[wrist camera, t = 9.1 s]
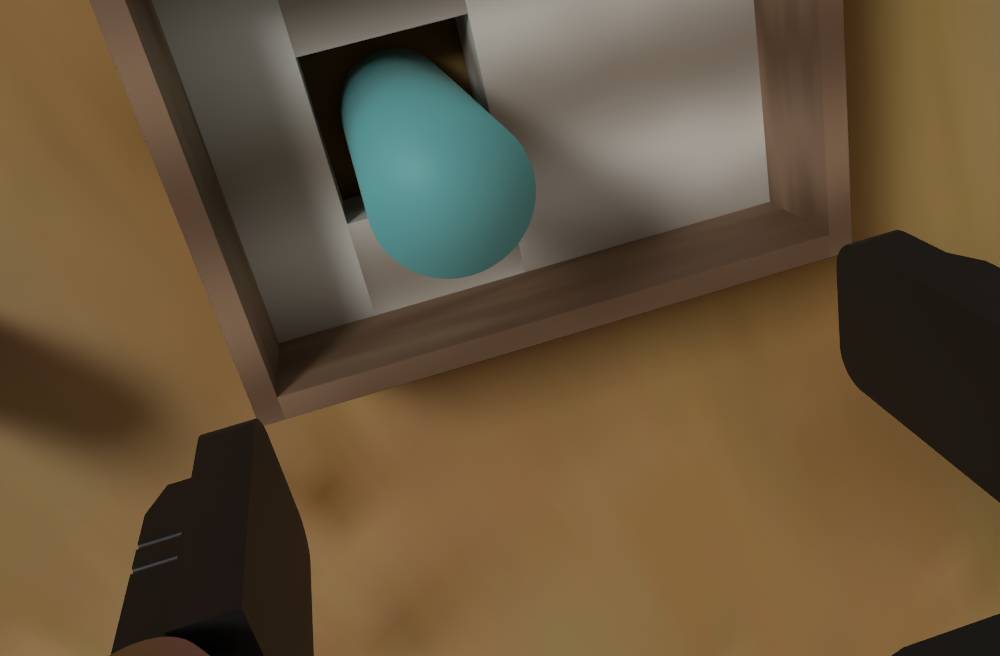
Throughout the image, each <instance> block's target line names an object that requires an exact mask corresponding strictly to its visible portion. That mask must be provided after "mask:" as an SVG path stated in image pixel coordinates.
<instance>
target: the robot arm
mask: <svg viewBox="0 0 1000 656" xmlns="http://www.w3.org/2000/svg"><path fill="white" fill-rule="evenodd" d="M837 289H838V311H839V334H840V350H841V355H842V359H843V362H844V365H845V368H846V370H847V372H848V374H849V376H850V378H851V379H852V381H853V382H854V383H855V385H856V386H857V387H858V388H859V389H860V390H861V391H862V392H864V393H865V394H866V395H867V396H869V397H870V398H871V399H872V400H874V401H875V402H876V403H877V404H878V405H880V406H881V407H882V408H883V409H885V410H886V411H887V412H888V413H890V414H891V415H892V416H893V417H895V418H896V419H897V420H898V421H899V422H901V423H902V424H903V425H904V426H906V427H907V428H908V429H909V430H911V431H912V432H913V433H914V434H916V435H917V436H918V437H919V438H921V439H922V440H923V441H924V442H925V443H927V444H928V445H929V446H930V447H932V448H933V449H934V450H935V451H937V452H938V453H939V454H940V455H942V456H943V457H944V458H945V459H946V460H948V461H949V462H950V463H951V464H953V465H954V466H955V467H956V468H958V469H959V470H960V471H961V472H963V473H964V474H965V475H966V476H968V477H969V478H970V479H971V480H972V481H974V482H975V483H976V484H977V485H979V486H980V487H981V488H982V489H984V490H985V491H986V492H987V493H989V494H990V495H991V496H992V497H994V498H995V499H996V500H997V501H998V502H1000V268H999V267H997V266H995V265H993V264H991V263H989V262H987V261H983V260H979V259H974V258H969V257H965V256H960V255H955V254H951V253H946V252H944V251H942V250H940V249H938V248H936V247H934V246H932V245H930V244H928V243H926V242H924V241H922V240H920V239H918V238H916V237H914V236H912V235H910V234H908V233H906V232H903V231H901V230H895V231H891V232H888V233H884V234H881V235H878V236H874V237H871V238H867V239H864V240H861V241H857V242H854V243H851V244H847V245H845V246H843V247H842V248H841V249H840V251H839V254H838V257H837ZM138 546H139V549H138V550H136V553H135V557H134V562H133V566H132V570H133V574H131V575H130V578H129V582H128V586H127V590H126V594H125V599H124V603H123V607H122V611H121V615H120V619H119V623H118V627H117V631H116V636H115V640H114V644H113V648H112V652H111V655H110V656H314V652H313V624H312V596H311V567H310V554H309V548H308V543H307V538H306V534H305V530H304V527H303V523H302V520H301V517H300V514H299V512H298V509H297V507H296V504H295V502H294V499H293V497H292V494H291V492H290V489H289V487H288V484H287V482H286V479H285V477H284V474H283V472H282V469H281V467H280V464H279V462H278V459H277V457H276V454H275V452H274V449H273V447H272V444H271V442H270V439H269V437H268V434H267V432H266V430H265V428H264V426H263V424H262V423H261V421H260V420H259V419H257V418H256V419H253V420H250V421H246V422H243V423H240V424H236V425H233V426H230V427H226V428H223V429H219V430H216V431H213V432H209V433H206V434H203V435H200V436H199V438H198V443H197V448H196V454H195V460H194V465H193V471H192V477H191V478H189V479H186V480H183V481H179V482H176V483H173V484H169V485H167V486H166V488H165V489H164V490H163V492H162V493H161V494H160V496H159V497H158V498H157V500H156V501H155V502H154V504H153V505H152V506H151V508H150V509H149V510H148V511H147V513H146V514H145V516H144V520H143V525H142V529H141V533H140V537H139V541H138ZM892 656H1000V614H998V615H995V616H992V617H989V618H986V619H983V620H980V621H978V622H975V623H972V624H969V625H966V626H963V627H960V628H958V629H955V630H952V631H949V632H946V633H943V634H940V635H938V636H935V637H932V638H929V639H926V640H923V641H920V642H918V643H915V644H912V645H909V646H906V647H903V648H902V649H901V650H899V651H898V652H896V653H895V654H893V655H892Z"/></svg>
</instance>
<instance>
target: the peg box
mask: <svg viewBox="0 0 1000 656" xmlns="http://www.w3.org/2000/svg"><path fill="white" fill-rule="evenodd" d="M89 1H90V3H91V6H92V8H93V11H94V13H95V16H96V18H97V21H98V23H99V26H100V28H101V31H102V33H103V36H104V38H105V41H106V43H107V46H108V48H109V51H110V53H111V56H112V58H113V61H114V63H115V66H116V68H117V71H118V73H119V76H120V78H121V81H122V83H123V86H124V88H125V91H126V93H127V96H128V98H129V101H130V103H131V106H132V108H133V111H134V113H135V116H136V118H137V121H138V123H139V126H140V128H141V130H142V133H143V135H144V138H145V140H146V143H147V145H148V148H149V150H150V153H151V155H152V158H153V160H154V163H155V165H156V168H157V170H158V173H159V175H160V178H161V180H162V183H163V185H164V188H165V190H166V193H167V195H168V198H169V200H170V203H171V205H172V208H173V210H174V213H175V215H176V218H177V220H178V223H179V225H180V228H181V230H182V233H183V235H184V238H185V240H186V243H187V245H188V248H189V250H190V253H191V255H192V258H193V260H194V263H195V265H196V268H197V270H198V273H199V275H200V278H201V280H202V283H203V285H204V288H205V290H206V293H207V295H208V298H209V300H210V303H211V305H212V308H213V310H214V313H215V315H216V318H217V320H218V323H219V325H220V328H221V330H222V333H223V335H224V338H225V340H226V343H227V345H228V348H229V350H230V353H231V355H232V358H233V360H234V363H235V365H236V368H237V370H238V373H239V375H240V378H241V380H242V383H243V385H244V388H245V390H246V393H247V395H248V398H249V400H250V403H251V405H252V408H253V410H254V413H255V415H256V418H257V419H259V420H260V421H261V423H262V424H263V426H265V425H268V424H271V423H275V422H278V421H281V420H285V419H288V418H291V417H295V416H298V415H301V414H305V413H308V412H312V411H315V410H318V409H322V408H325V407H328V406H332V405H335V404H338V403H342V402H345V401H349V400H352V399H355V398H359V397H362V396H365V395H369V394H372V393H375V392H379V391H382V390H386V389H389V388H392V387H396V386H399V385H402V384H406V383H409V382H412V381H416V380H419V379H423V378H426V377H429V376H433V375H436V374H439V373H443V372H446V371H449V370H453V369H456V368H460V367H463V366H466V365H470V364H473V363H476V362H480V361H483V360H486V359H490V358H493V357H496V356H500V355H503V354H507V353H510V352H513V351H517V350H520V349H523V348H527V347H530V346H533V345H537V344H540V343H544V342H547V341H550V340H554V339H557V338H560V337H564V336H567V335H570V334H574V333H577V332H581V331H584V330H587V329H591V328H594V327H597V326H601V325H604V324H607V323H611V322H614V321H618V320H621V319H624V318H628V317H631V316H634V315H638V314H641V313H644V312H648V311H651V310H654V309H658V308H661V307H665V306H668V305H671V304H675V303H678V302H681V301H685V300H688V299H691V298H695V297H698V296H702V295H705V294H708V293H712V292H715V291H718V290H722V289H725V288H728V287H732V286H735V285H739V284H742V283H745V282H749V281H752V280H755V279H759V278H762V277H765V276H769V275H772V274H776V273H779V272H782V271H786V270H789V269H792V268H796V267H799V266H802V265H806V264H809V263H813V262H816V261H819V260H823V259H826V258H829V257H833V256H836V255H838V254H839V251H840V249H841V248H842V247H843V246H845V245H847V244H851V243H852V225H851V198H850V171H849V145H848V118H847V91H846V65H845V38H844V11H843V0H89ZM453 17H455V20H456V25H457V29H458V34H459V38H460V42H461V47H462V51H463V56H464V60H465V65H466V69H467V73H468V78H469V82H470V87H471V91H472V96H473V99H474V100H475V101H476V102H477V103H478V104H480V105H481V106H482V107H483V108H484V109H485V110H486V111H487V112H488V113H490V114H491V115H492V116H493V117H494V118H495V119H496V120H497V121H498V122H499V123H501V124H502V125H503V126H504V127H505V128H506V129H507V130H508V131H509V132H510V133H511V134H512V135H514V136H515V138H516V139H517V140H518V141H519V143H520V144H521V145H522V147H523V148H524V150H525V152H526V153H527V155H528V158H529V160H530V162H531V165H532V168H533V172H534V176H535V183H536V200H535V207H534V211H533V215H532V219H531V221H530V224H529V226H528V228H527V230H526V232H525V234H524V236H523V238H522V239H521V240H520V242H519V243H518V244H517V246H516V247H515V248H514V249H513V250H512V251H511V252H510V253H509V254H508V255H507V256H506V257H505V258H504V259H503V260H501V261H500V262H499V263H497V264H495V265H494V266H492V267H491V268H489V269H487V270H485V271H483V272H480V273H477V274H475V275H472V276H467V277H463V278H454V279H439V278H433V277H428V276H424V275H421V274H418V273H415V272H413V271H411V270H409V269H407V268H405V267H404V266H402V265H400V264H399V263H398V262H396V261H395V260H394V259H393V258H391V257H390V255H389V254H388V253H387V252H386V251H385V250H384V249H383V248H382V246H381V245H380V244H379V242H378V241H377V239H376V237H375V235H374V233H373V231H372V229H371V226H370V224H369V221H368V217H367V213H366V210H365V206H364V203H363V199H362V195H359V196H355V197H351V198H348V199H344V200H342V197H341V194H340V191H339V188H338V184H337V181H336V178H335V175H334V171H333V168H332V165H331V162H330V158H329V155H328V152H327V149H326V145H325V142H324V139H323V136H322V132H321V129H320V126H319V123H318V119H317V116H316V113H315V110H314V106H313V103H312V100H311V97H310V93H309V90H308V87H307V84H306V80H305V77H304V74H303V71H302V67H301V64H300V61H299V58H298V57H300V56H304V55H308V54H312V53H316V52H320V51H324V50H328V49H332V48H335V47H339V46H343V45H347V44H351V43H355V42H359V41H363V40H367V39H371V38H375V37H379V36H382V35H386V34H390V33H394V32H398V31H402V30H406V29H410V28H414V27H418V26H422V25H425V24H429V23H433V22H437V21H441V20H445V19H449V18H453Z"/></svg>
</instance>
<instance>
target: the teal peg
mask: <svg viewBox="0 0 1000 656" xmlns="http://www.w3.org/2000/svg"><path fill="white" fill-rule="evenodd" d="M339 114H340V118H341V122H342V126H343V130H344V133H345V137H346V141H347V144H348V148H349V152H350V155H351V159H352V162H353V166H354V170H355V173H356V177H357V181H358V184H359V188H360V192H361V195H362V199H363V203H364V206H365V210H366V213H367V217H368V221H369V224H370V226H371V229H372V231H373V233H374V235H375V237H376V239H377V241H378V242H379V244H380V245H381V246H382V248H383V249H384V250H385V251H386V252H387V253H388V254H389V255H390V257H391V258H393V259H394V260H395V261H396V262H398V263H399V264H400V265H402V266H404V267H405V268H407V269H409V270H411V271H413V272H415V273H418V274H421V275H424V276H428V277H433V278H439V279H454V278H463V277H467V276H472V275H475V274H477V273H480V272H483V271H485V270H487V269H489V268H491V267H492V266H494V265H495V264H497V263H499V262H500V261H501V260H503V259H504V258H505V257H506V256H507V255H508V254H509V253H510V252H511V251H512V250H513V249H514V248H515V247H516V246H517V244H518V243H519V242H520V240H521V239H522V238H523V236H524V234H525V232H526V230H527V228H528V226H529V224H530V221H531V219H532V215H533V211H534V207H535V200H536V183H535V176H534V172H533V168H532V165H531V162H530V160H529V158H528V155H527V153H526V152H525V150H524V148H523V147H522V145H521V144H520V143H519V141H518V140H517V139H516V138H515V136H514V135H512V134H511V133H510V132H509V131H508V130H507V129H506V128H505V127H504V126H503V125H502V124H501V123H499V122H498V121H497V120H496V119H495V118H494V117H493V116H492V115H491V114H490V113H488V112H487V111H486V110H485V109H484V108H483V107H482V106H481V105H480V104H478V103H477V102H476V101H475V100H474V99H473V98H472V97H471V96H470V95H469V94H467V93H466V92H465V91H464V90H463V89H462V88H461V87H460V86H459V85H457V84H456V83H455V82H454V81H453V80H452V79H451V78H450V77H449V76H448V75H446V74H445V73H444V72H443V71H442V70H441V69H440V68H439V67H438V66H436V65H435V64H434V63H433V62H432V61H431V60H429V59H428V58H427V57H425V56H424V55H422V54H420V53H418V52H415V51H413V50H409V49H405V48H386V49H381V50H378V51H375V52H372V53H370V54H368V55H366V56H365V57H363V58H362V59H361V60H359V61H358V62H357V63H356V64H355V65H354V66H353V67H352V69H351V70H350V71H349V73H348V74H347V76H346V78H345V80H344V82H343V84H342V87H341V91H340V96H339Z"/></svg>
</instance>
